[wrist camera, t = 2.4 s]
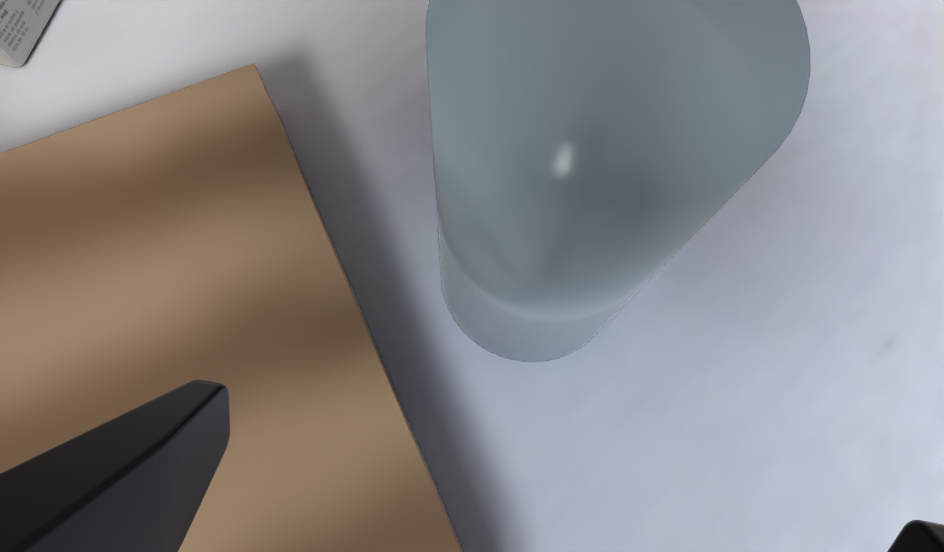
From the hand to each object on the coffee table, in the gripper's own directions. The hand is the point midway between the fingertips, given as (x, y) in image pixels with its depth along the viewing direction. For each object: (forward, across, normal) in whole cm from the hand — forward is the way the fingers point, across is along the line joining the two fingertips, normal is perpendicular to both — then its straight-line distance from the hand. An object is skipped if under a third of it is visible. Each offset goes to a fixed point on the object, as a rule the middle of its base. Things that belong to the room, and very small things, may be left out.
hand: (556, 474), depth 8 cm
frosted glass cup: (+14, 0, +4) cm, 15 cm away
